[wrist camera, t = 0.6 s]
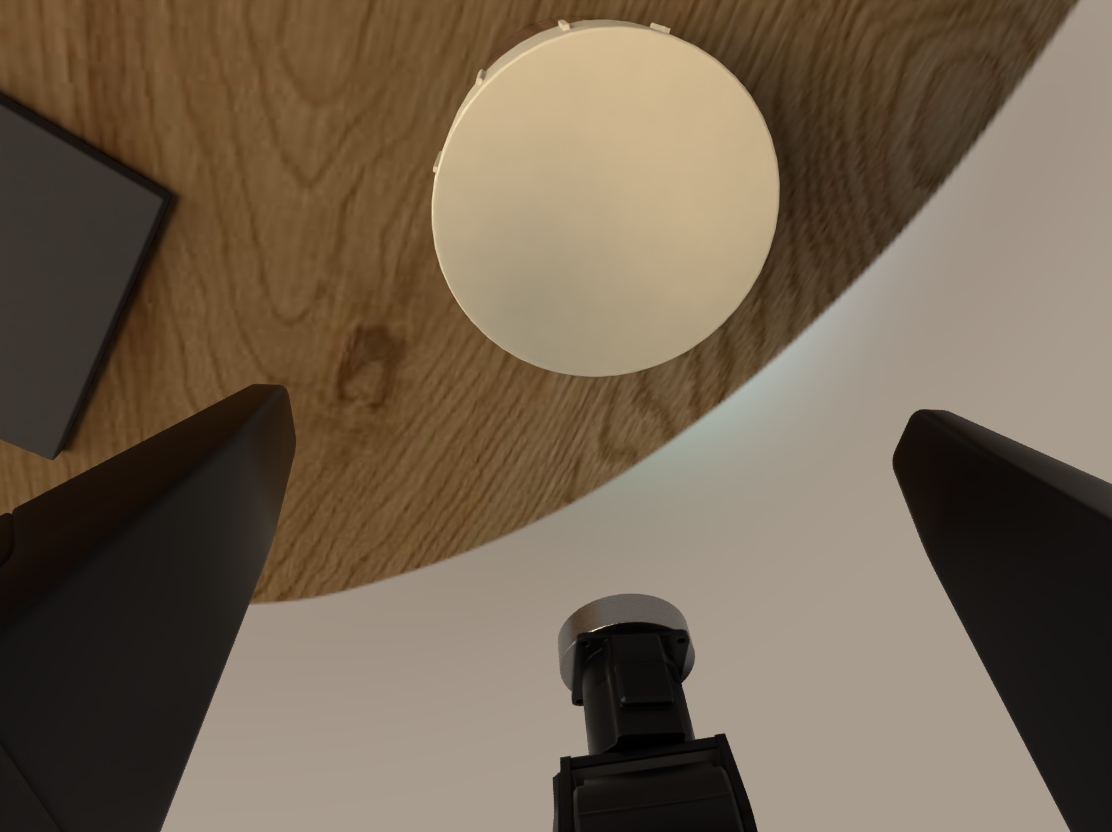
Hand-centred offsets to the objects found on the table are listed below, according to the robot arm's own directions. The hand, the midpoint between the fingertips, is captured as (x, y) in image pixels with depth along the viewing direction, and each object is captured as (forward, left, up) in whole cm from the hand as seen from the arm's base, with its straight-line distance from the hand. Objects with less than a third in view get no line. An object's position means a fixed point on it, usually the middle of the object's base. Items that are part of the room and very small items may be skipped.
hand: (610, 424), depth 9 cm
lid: (+1, 0, -5) cm, 5 cm away
